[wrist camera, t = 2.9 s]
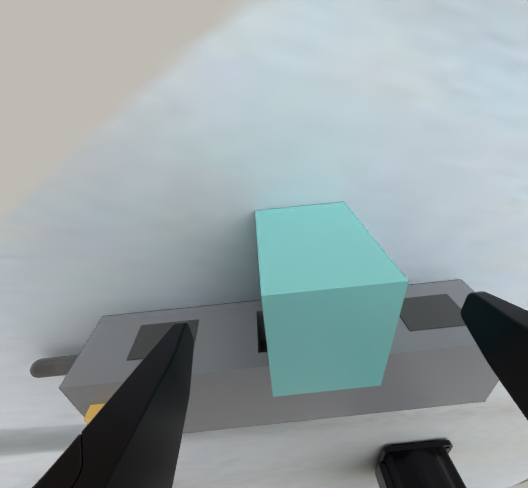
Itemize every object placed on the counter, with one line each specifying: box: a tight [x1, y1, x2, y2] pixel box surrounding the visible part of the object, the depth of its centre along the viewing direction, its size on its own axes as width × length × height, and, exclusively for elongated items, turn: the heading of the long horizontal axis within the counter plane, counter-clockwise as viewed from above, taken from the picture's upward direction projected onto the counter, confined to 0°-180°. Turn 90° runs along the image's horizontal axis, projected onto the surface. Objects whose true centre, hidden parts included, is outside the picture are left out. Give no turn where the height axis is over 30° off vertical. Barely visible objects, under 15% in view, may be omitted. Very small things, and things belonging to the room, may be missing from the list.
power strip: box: [30, 280, 499, 434], centre depth 14 cm, size 24×5×5 cm, turn 95°
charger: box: [255, 202, 409, 397], centre depth 11 cm, size 4×7×6 cm, turn 5°
